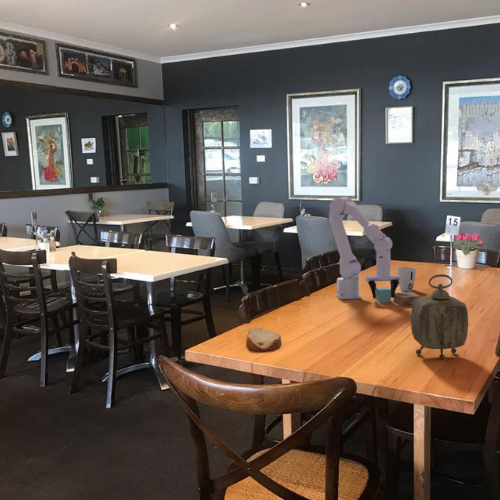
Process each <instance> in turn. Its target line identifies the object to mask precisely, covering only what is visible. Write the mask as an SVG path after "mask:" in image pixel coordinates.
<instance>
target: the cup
mask: <svg viewBox="0 0 500 500" xmlns="http://www.w3.org/2000/svg"><path fill="white" fill-rule="evenodd" d="M396 269H397V275H400V276H401V281H399V285H398V287H399V289H400V291H401V292H413V288H414V285H415V281H416V267H410V266H409V267H407V266H403V267H402V266H401V267H398V268H396Z"/></svg>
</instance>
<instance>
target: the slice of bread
mask: <svg viewBox="0 0 500 500" xmlns="http://www.w3.org/2000/svg"><path fill="white" fill-rule="evenodd" d="M245 340H246V343H245V344H247V346H248V348H250V350H253V351H255V352H258V353H267V352H273V351H274V350H275V349H278V348H280V347H281V345H282V337H281V334H279V333H277V332H276V331H274V330H271V329H268V328H261V327H251V328H249V330H248V333H247V337H246V339H245Z"/></svg>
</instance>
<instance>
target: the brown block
mask: <svg viewBox="0 0 500 500" xmlns="http://www.w3.org/2000/svg"><path fill="white" fill-rule="evenodd" d="M419 297H421V295H418V294H417V293H415V292H413V291H403V292H395V293H394V298H393V303H394V304H397V305H399V306H400V307H410V306H412V305H413V303H414V300H415V299H417V298H419Z"/></svg>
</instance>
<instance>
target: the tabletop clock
mask: <svg viewBox="0 0 500 500" xmlns="http://www.w3.org/2000/svg"><path fill="white" fill-rule="evenodd" d="M441 277H443V278H447V279H449V280H450V283H449V284H446V285H443V284H442V283H439V284H438V286H435V285H432V283H431V282H432V280H433V279H435V278H441ZM428 284H429V286H430V287H431V288H433V289H435V290H434V291H433V292H432V293H431V295H424V296H420V297H419V298H417V299H415V300H414V303H413V306H412V307H411V314H410V325H411V326H410V328H411V334H412V336H413V339H414V341H416V342H417V343H418V344H419V345H420V348H419V349H416V350H415V354H416V355H418V356H419V355H421V354H422V350H423V349H424V348H426V349H429V350H430V349H431V350H440V355H438V356H439V360H442V361H443V360H445V359H446V356H445V355H444V350H448V349H450V353H452V354H456V353H457V348H460V347H462V346H465V343H466V341H467V338H468V333H469V312H468V307H467V305H466V303H465V302H463V301H462V300H459V299H457V298H456V297H453V296H450V294H449V292H448V291H446V290H445V289H447V288H449V287H451V286H452V285H453V278H452V277H451V276H449V274H448V275H447V274H444V273H443V274H435V275H432V276H431V277H430V278H429V280H428Z"/></svg>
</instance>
